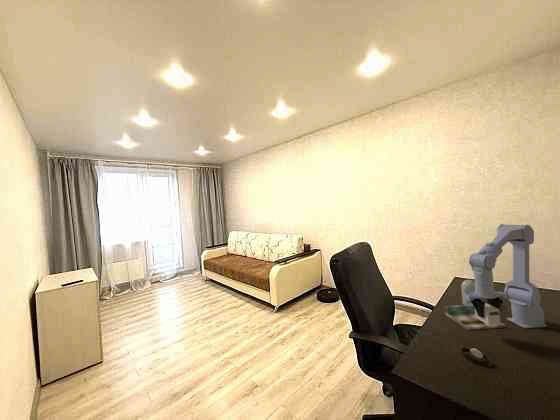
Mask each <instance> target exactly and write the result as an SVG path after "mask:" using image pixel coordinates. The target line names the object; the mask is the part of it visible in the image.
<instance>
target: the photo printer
mask: <svg viewBox="0 0 560 420" xmlns="http://www.w3.org/2000/svg"><path fill="white" fill-rule="evenodd" d="M460 290H461V291H460V292H461V301H462V302H461V303H462V305H469V304H472V303H471V301H469V300H467V299H466V298H465V294H470V293H473V292H475V281H474V280H471V279H465V280H463V282H462V284H461V285H460Z"/></svg>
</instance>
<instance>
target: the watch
mask: <svg viewBox="0 0 560 420" xmlns="http://www.w3.org/2000/svg"><path fill="white" fill-rule="evenodd" d="M461 353H462V356H463V358H465V359H466V360H468V361H469V362H471V363H474V364H478V365H479V366H488V365H489V364H490V358H489V357H488V356H487V355H485V354H484V353H482V352H481V351H480V350H478V349H477V348H471V349H470V348H467V347H463V348H461ZM465 353H470V354H471V355H473V357H476V358H478V359H476V358H473V357H471V356H468V355H467V354H465ZM479 359H485V361H483V360H479Z"/></svg>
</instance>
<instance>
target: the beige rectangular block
mask: <svg viewBox="0 0 560 420" xmlns="http://www.w3.org/2000/svg"><path fill="white" fill-rule="evenodd" d="M485 303H486V304H485V306H484V318H481V317H479V316H478V314H477V312H476V309H475V315H476V318H477V319H479V320H481V321H482V322H484V323H486V324H488V325H496V324H500V322H501V316H500V308H499V309H498V308H495V307H493V306H491V305H489V304H488V302H485Z"/></svg>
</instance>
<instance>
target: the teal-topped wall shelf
mask: <svg viewBox="0 0 560 420" xmlns="http://www.w3.org/2000/svg"><path fill="white" fill-rule="evenodd" d="M444 315H446V317H448V318H450V319H451V320H452V321H454V322H456V323H457V324H458V325H461V326H462V327H463V328H464V329H466V330H467V331H472V330H486V329H498V328H499V329H500V328H501V329H502V328H507V326H506V324H505V323H503V322H501V321H500V324H496V325H488V324H486V323H484V322H482V321H481V320H479V319H477V318H476V315H475V307H474V306H473V304H469V305H464V304H460V305H459V304H457V305H445V312H444Z"/></svg>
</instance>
